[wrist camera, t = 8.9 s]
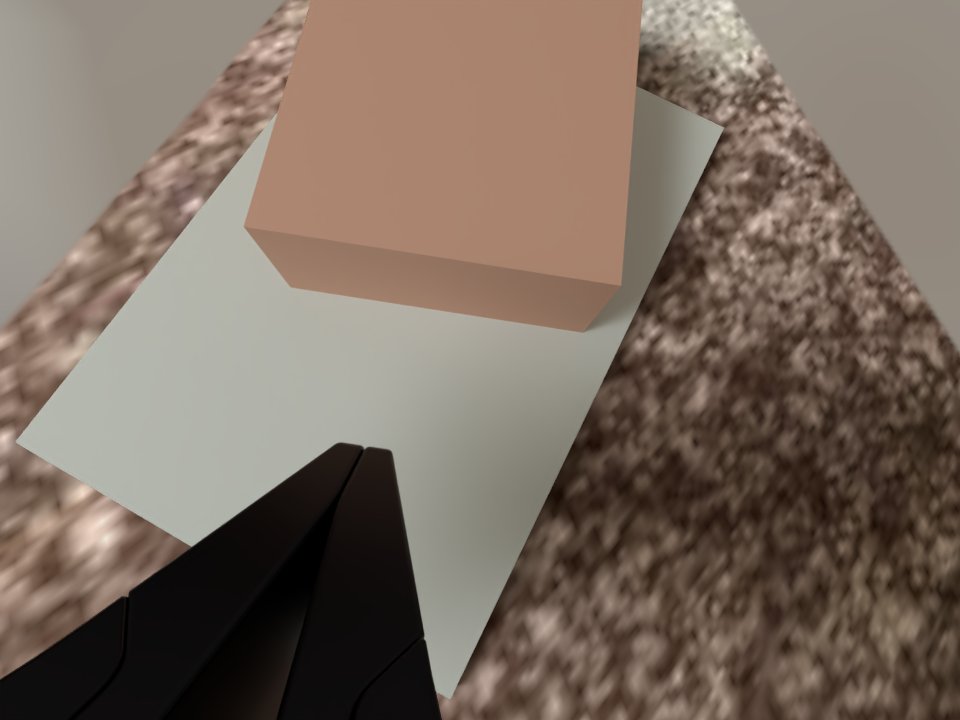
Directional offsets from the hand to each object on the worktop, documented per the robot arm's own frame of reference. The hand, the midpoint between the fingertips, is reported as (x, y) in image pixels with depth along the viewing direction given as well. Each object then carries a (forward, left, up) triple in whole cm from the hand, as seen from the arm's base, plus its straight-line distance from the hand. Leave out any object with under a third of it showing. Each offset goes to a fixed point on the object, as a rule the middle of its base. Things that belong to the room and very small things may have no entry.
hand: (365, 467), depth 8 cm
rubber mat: (+3, -6, -8) cm, 11 cm away
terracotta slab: (+2, -5, -6) cm, 8 cm away
